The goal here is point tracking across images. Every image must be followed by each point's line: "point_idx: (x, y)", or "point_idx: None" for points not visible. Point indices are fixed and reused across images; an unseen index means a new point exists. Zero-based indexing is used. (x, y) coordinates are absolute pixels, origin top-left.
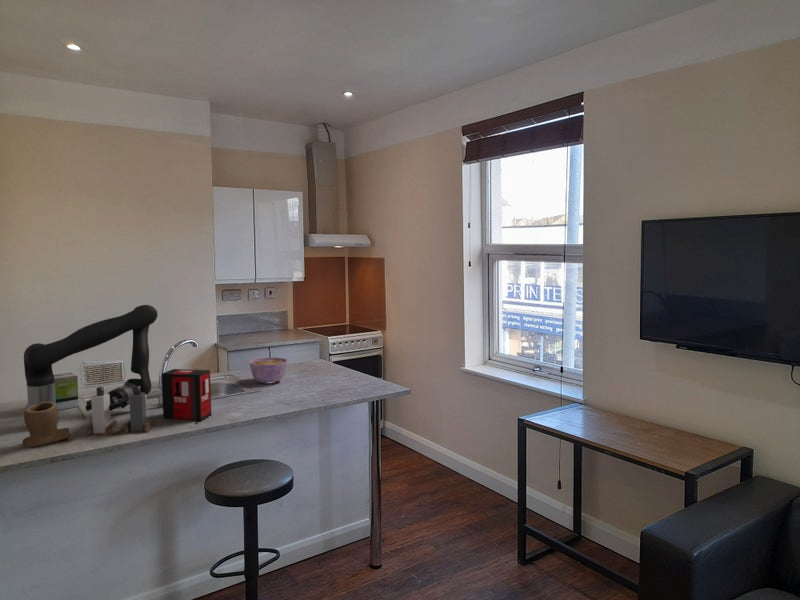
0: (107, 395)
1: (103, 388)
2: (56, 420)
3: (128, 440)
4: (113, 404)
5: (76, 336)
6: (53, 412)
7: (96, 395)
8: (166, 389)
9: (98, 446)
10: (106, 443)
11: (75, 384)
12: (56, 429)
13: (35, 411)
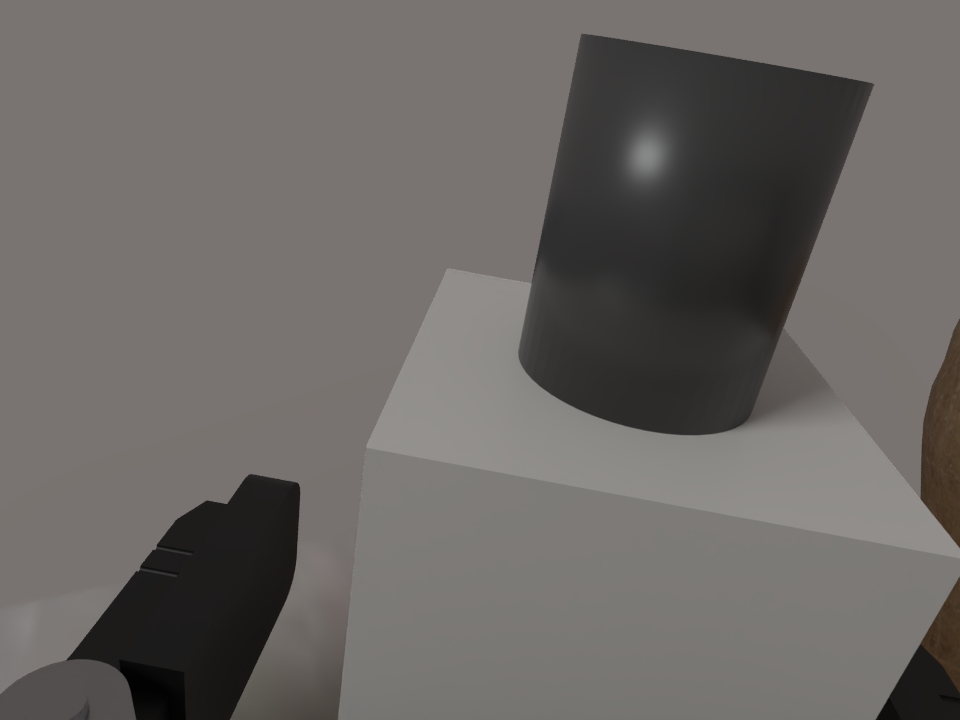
0: (403, 389)
1: (577, 79)
2: (948, 514)
3: (26, 649)
4: (190, 572)
5: None
6: (956, 359)
7: (771, 392)
8: None
9: (346, 560)
10: (282, 615)
11: None
12: (943, 658)
13: None
